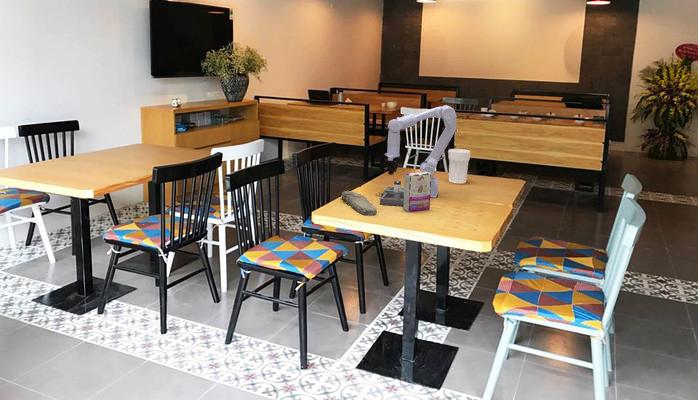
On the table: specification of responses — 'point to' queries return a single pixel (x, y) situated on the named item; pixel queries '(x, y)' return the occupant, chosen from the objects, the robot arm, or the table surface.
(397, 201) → the tray
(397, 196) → the pin
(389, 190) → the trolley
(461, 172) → the cup
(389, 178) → the table surface
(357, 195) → the elongated rock
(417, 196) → the candy bar box
